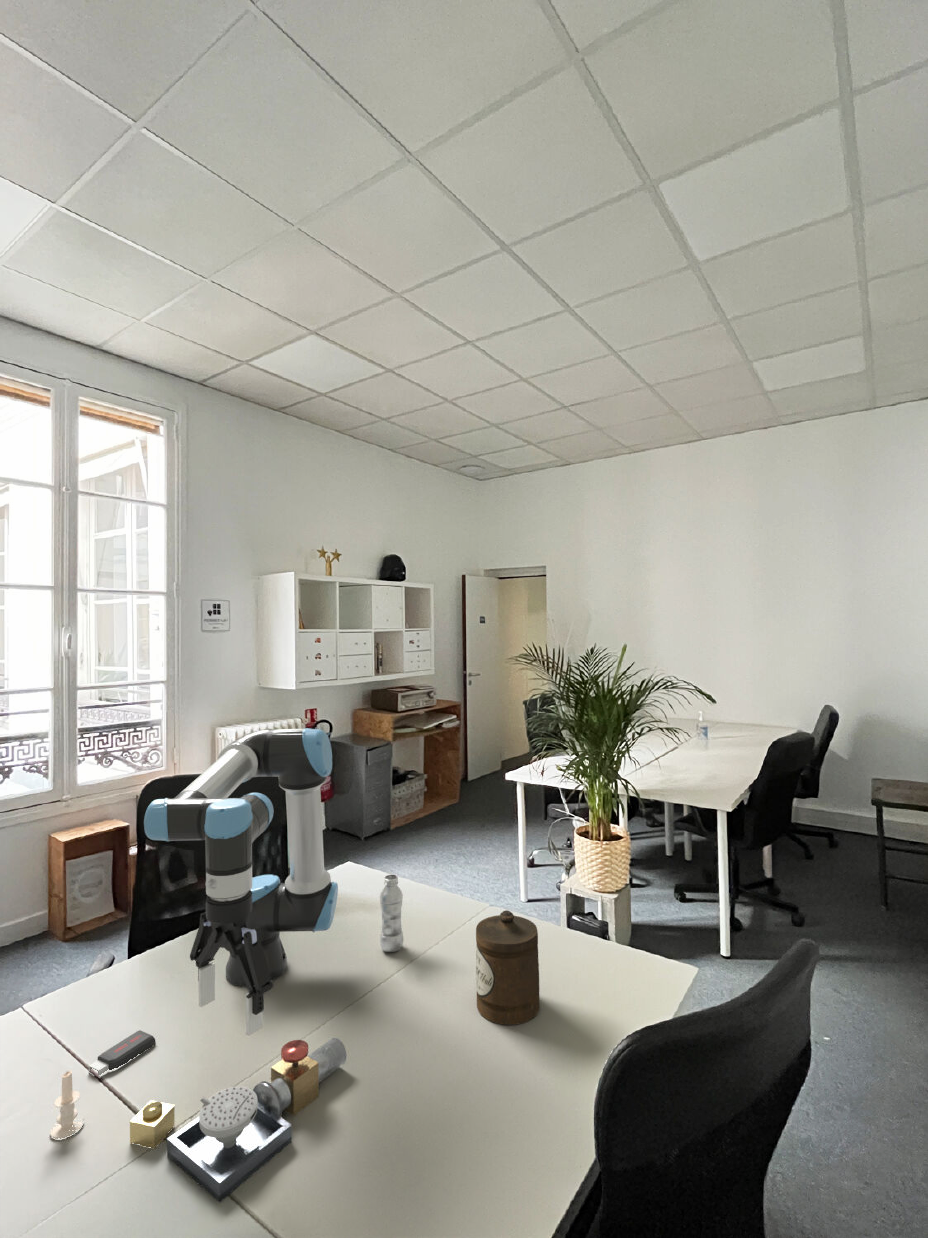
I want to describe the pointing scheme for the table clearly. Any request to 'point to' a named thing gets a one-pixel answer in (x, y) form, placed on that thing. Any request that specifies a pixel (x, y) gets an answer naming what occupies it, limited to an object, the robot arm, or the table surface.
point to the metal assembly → (257, 1121)
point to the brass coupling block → (152, 1124)
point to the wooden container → (507, 969)
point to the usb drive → (123, 1052)
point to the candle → (66, 1109)
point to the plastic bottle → (391, 915)
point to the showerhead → (228, 1114)
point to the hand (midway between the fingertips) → (229, 1016)
